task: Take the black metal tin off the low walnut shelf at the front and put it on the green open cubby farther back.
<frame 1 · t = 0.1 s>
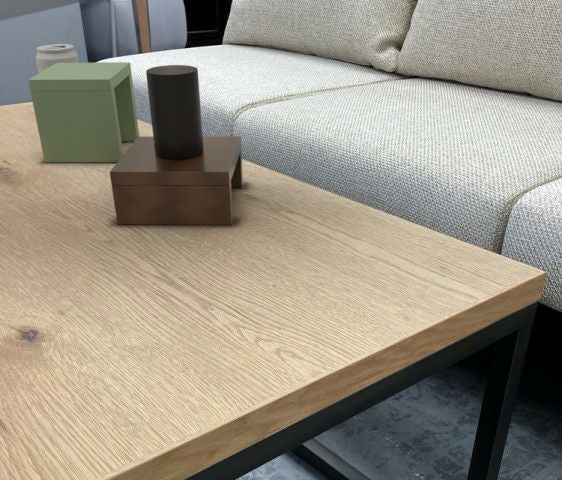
beverage can: (69, 126, 116), on the table
black tin: (179, 152, 81), point 6 cm above the table, touching low shelf
green open cubby: (94, 150, 104), on the table
low shelf: (184, 202, 85), on the table
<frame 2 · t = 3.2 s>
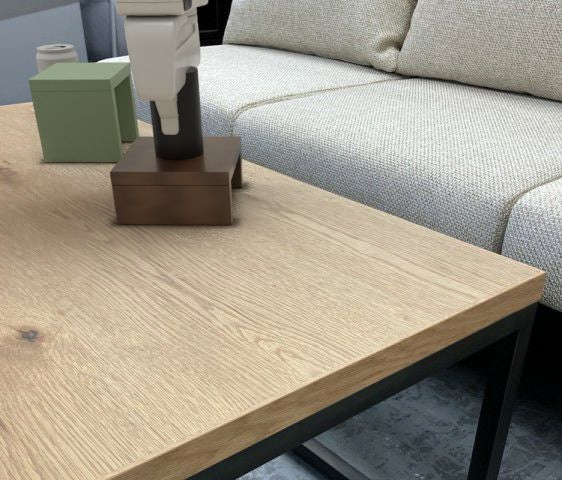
hand: (177, 124, 79), 9 cm above the table, tool pointing down, fingers closed on black tin, 5 cm apart
black tin: (179, 152, 81), point 6 cm above the table, touching gripper, low shelf
everything else where it was.
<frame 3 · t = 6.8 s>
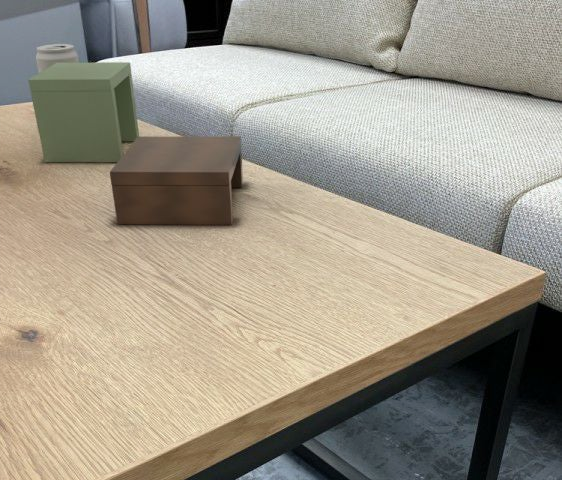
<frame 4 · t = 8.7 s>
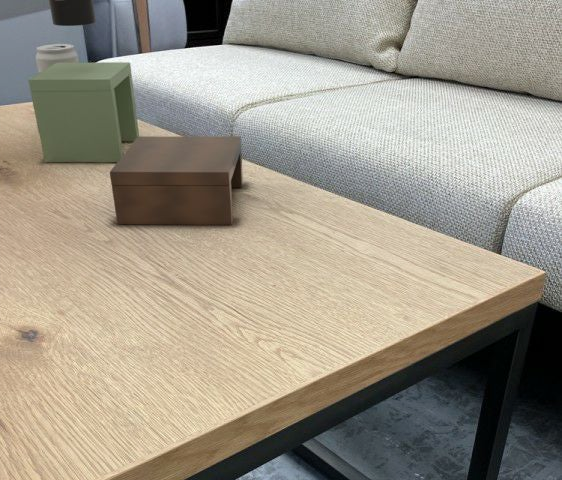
black tin: (74, 22, 94), point 17 cm above the table, touching gripper
everything else where it was.
when the fingers open (14 cm above the table, at t = 10.6 s): black tin stays where it is, resting on green open cubby.
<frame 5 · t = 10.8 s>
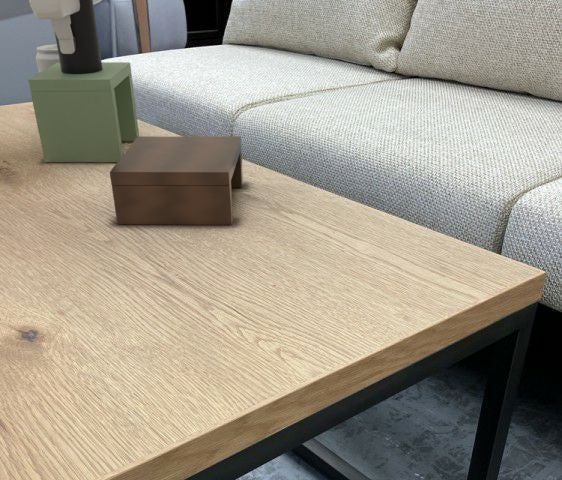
hand: (78, 47, 96), 14 cm above the table, tool pointing down, fingers open, 7 cm apart
black tin: (82, 70, 98), point 11 cm above the table, touching green open cubby
everything else where it was.
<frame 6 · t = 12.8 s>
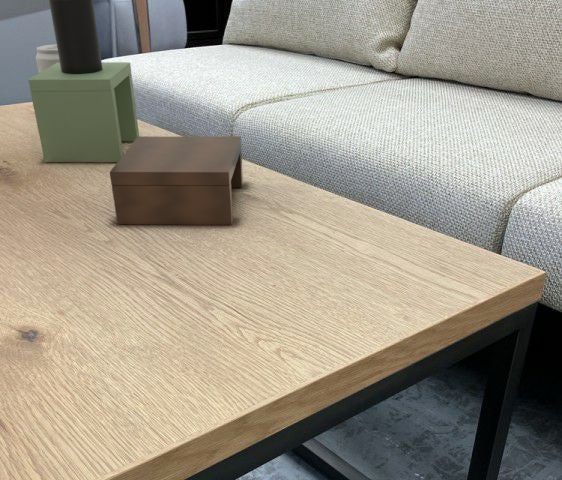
nothing on the table moved.
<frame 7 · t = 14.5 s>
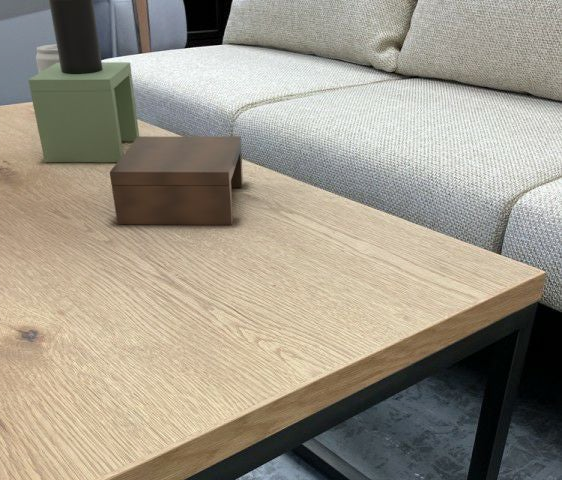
nothing on the table moved.
at the end: black tin inside the target area on the green open cubby (0.1 cm from its centre), point 11.0 cm above the green open cubby's base; black tin tilted 0°; the gripper is holding nothing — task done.
